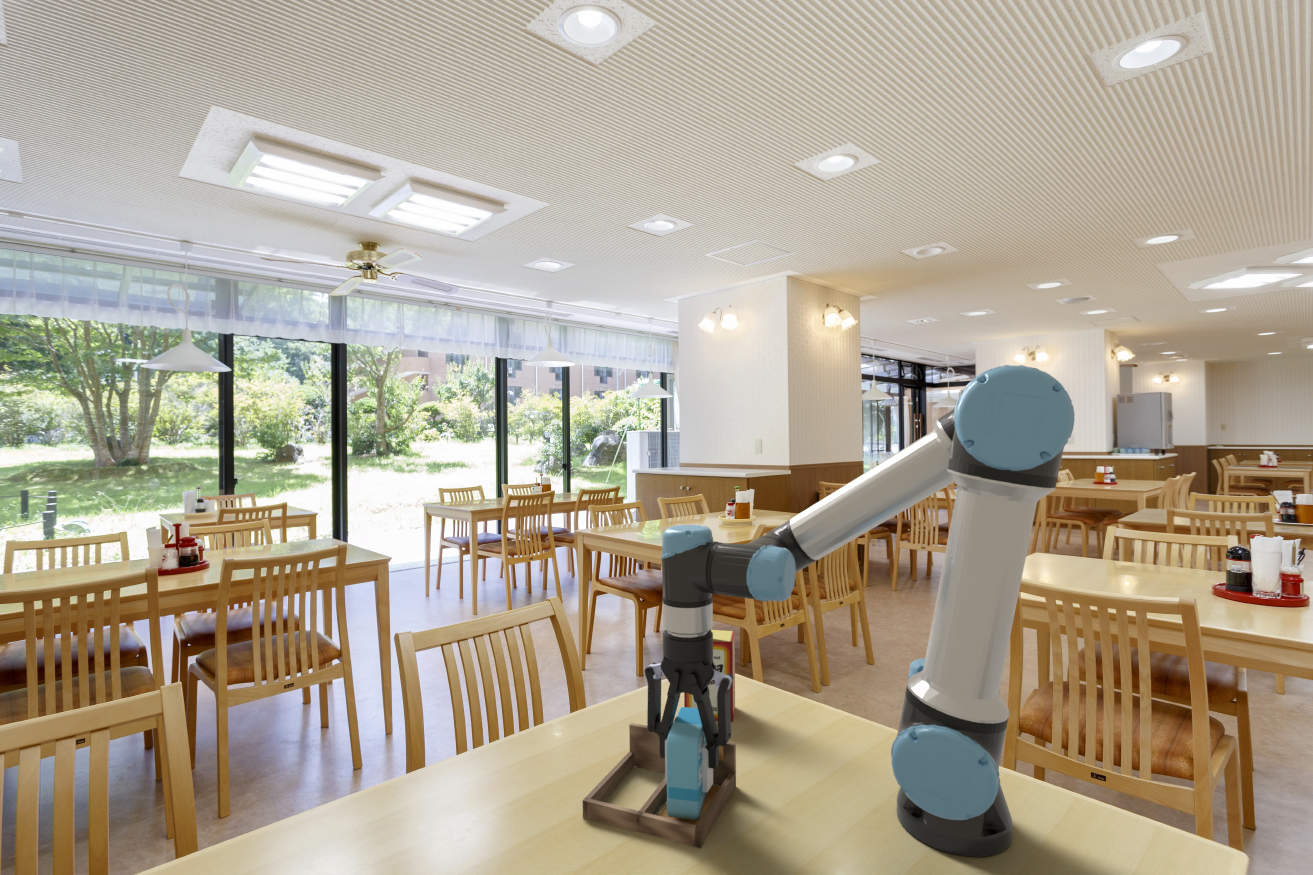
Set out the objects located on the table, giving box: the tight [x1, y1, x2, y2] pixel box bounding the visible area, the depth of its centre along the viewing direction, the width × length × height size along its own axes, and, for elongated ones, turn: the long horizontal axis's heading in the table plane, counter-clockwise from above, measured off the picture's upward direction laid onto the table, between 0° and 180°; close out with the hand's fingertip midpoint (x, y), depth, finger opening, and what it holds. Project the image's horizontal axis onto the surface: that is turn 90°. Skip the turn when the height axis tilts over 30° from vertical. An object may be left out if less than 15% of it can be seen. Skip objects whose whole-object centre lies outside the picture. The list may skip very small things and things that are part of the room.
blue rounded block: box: [666, 706, 706, 820], centre depth 99 cm, size 12×4×12 cm, turn 167°
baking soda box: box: [683, 629, 736, 723], centre depth 131 cm, size 10×6×16 cm
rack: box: [582, 722, 737, 849], centre depth 101 cm, size 18×17×7 cm
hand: (689, 782), depth 99 cm, fingers closed on blue rounded block, 5 cm apart
